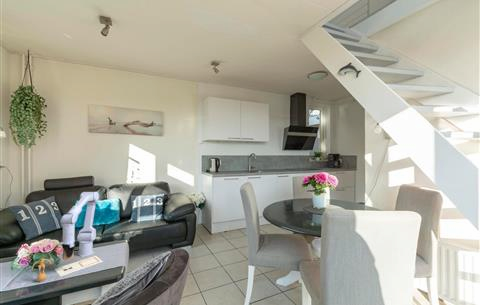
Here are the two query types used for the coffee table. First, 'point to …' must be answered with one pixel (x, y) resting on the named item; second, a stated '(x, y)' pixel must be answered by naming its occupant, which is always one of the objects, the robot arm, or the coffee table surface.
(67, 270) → the card
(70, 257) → the stained block
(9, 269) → the coffee table surface
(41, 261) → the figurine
